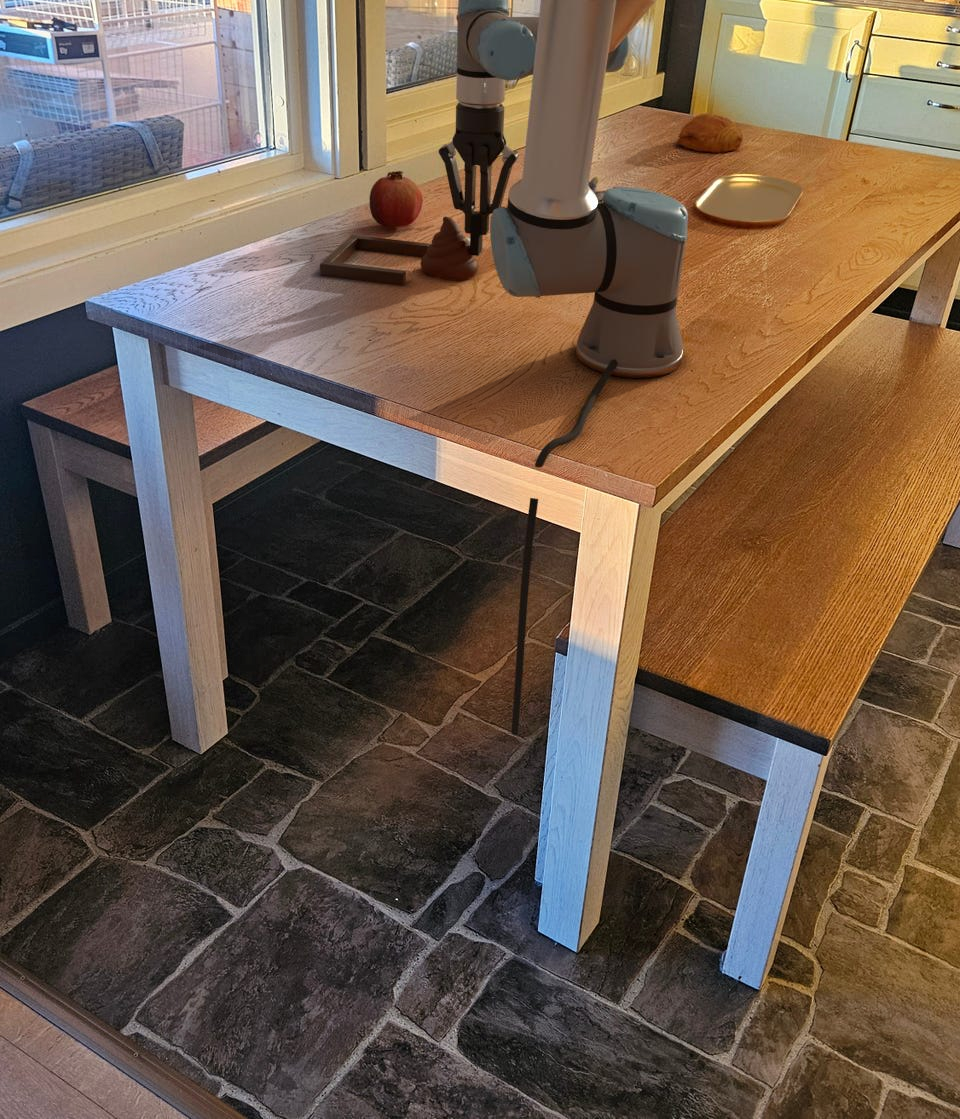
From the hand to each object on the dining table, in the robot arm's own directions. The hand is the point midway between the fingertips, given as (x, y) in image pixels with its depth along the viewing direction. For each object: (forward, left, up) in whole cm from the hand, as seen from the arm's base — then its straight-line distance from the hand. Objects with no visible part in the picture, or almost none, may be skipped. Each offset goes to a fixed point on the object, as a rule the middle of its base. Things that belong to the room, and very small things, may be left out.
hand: (475, 252), depth 181 cm
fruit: (+21, +21, -4) cm, 30 cm away
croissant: (+106, -31, -4) cm, 110 cm away
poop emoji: (0, +5, -4) cm, 6 cm away
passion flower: (+30, -14, -4) cm, 33 cm away
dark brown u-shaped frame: (0, +17, -4) cm, 18 cm away
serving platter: (+60, -43, -4) cm, 74 cm away
